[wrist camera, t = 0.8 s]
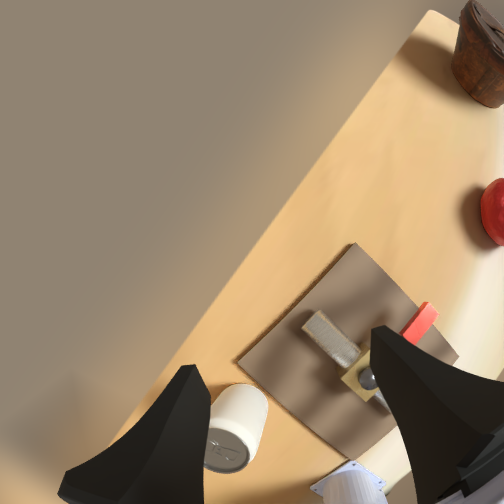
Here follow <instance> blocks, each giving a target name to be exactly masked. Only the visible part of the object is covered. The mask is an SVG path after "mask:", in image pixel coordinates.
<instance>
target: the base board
mask: <svg viewBox="0 0 504 504" xmlns="http://www.w3.org/2000/svg"><path fill="white" fill-rule="evenodd" d="M319 308H320V309H321V310H322V311H323V312H324V313H325V314H326V315H327V316H328V317H329V318H330V319H331V320H332V321H333V322H334V323H335V324H336V325H337V326H338V327H339V328H340V329H341V330H342V331H343V332H344V333H345V334H346V335H347V336H348V337H349V338H350V339H351V340H352V341H353V342H354V343H355V344H356V345H357V346H358V345H359V344H360V343H361V342H363V343H364V344H365V345H367V346H368V347H369V348H370V343H371V329H372V328H375V327H379V326H382V325H386V326H387V327H389V328H390V329H392V330H393V331H394V332H396V333H397V334H399V332H400V331H401V330H402V329H403V327H404V326H405V325H406V324H407V323H408V321H409V320H410V319H411V318H412V317H413V315H414V314H415V313H416V312H417V310H418V309H419V308H418V307H417V306H416V305H415V303H414V302H413V301H412V300H411V299H410V298H409V297H408V296H407V295H406V294H405V292H404V291H403V290H402V289H401V288H400V287H399V286H398V285H397V284H396V283H395V282H394V281H393V280H392V279H391V278H390V277H389V276H388V274H387V273H386V272H385V271H384V270H383V269H382V268H381V267H380V266H379V265H378V264H377V263H376V262H375V261H374V260H373V259H372V258H371V257H370V256H369V255H368V254H367V253H366V252H365V251H364V250H363V249H362V248H361V247H360V246H359V245H358V244H357V243H356V242H355V243H354V244H353V245H352V246H351V247H350V248H349V249H348V251H347V252H346V253H345V254H344V255H343V256H342V257H341V258H340V259H339V261H338V262H337V263H336V264H335V265H334V266H333V267H332V268H331V269H330V270H329V272H328V273H327V274H326V275H325V276H324V277H323V278H322V279H321V280H320V281H319V282H318V283H317V284H316V285H315V286H314V288H313V289H312V290H311V291H310V292H309V293H308V294H307V295H306V296H305V297H304V298H303V299H302V300H301V301H300V302H299V303H298V304H297V305H296V306H295V307H294V308H293V309H292V310H291V311H290V312H289V313H288V314H287V315H286V316H285V317H284V318H283V319H282V320H281V321H280V322H279V323H278V324H277V325H276V326H275V327H274V328H273V329H272V330H271V331H270V332H269V333H268V334H267V335H266V336H265V337H264V338H263V339H261V340H260V341H259V342H258V343H257V344H256V345H255V346H254V347H253V348H252V349H251V350H250V351H249V352H248V353H247V354H245V355H244V356H243V357H242V358H241V359H240V360H239V361H238V362H237V363H238V364H239V365H240V366H241V367H242V368H243V369H244V370H245V371H246V372H247V373H248V374H249V375H250V376H251V377H252V378H253V379H254V380H256V381H257V382H258V383H259V384H260V385H261V386H262V387H263V388H264V389H265V390H266V391H267V392H268V393H270V394H271V395H272V396H273V397H274V398H275V399H276V400H277V401H279V402H280V403H281V404H282V405H283V406H284V407H285V408H286V409H288V410H289V411H290V412H291V413H292V414H293V415H295V416H296V417H297V418H298V419H299V420H301V421H302V422H303V423H304V424H305V425H307V426H308V427H309V428H310V429H311V430H313V431H314V432H315V433H316V434H318V435H319V436H320V437H321V438H323V439H324V440H325V441H327V442H328V443H329V444H330V445H332V446H333V447H334V448H336V449H337V450H338V451H340V452H341V453H342V454H344V455H345V456H346V457H348V458H349V459H351V460H352V461H354V460H355V459H357V458H358V457H360V456H361V455H362V454H363V453H365V452H366V451H367V450H369V449H370V448H371V447H372V446H374V445H375V444H376V443H377V442H378V441H380V440H381V439H382V438H383V437H384V436H385V435H387V434H388V433H389V432H390V431H391V430H392V429H393V428H394V427H396V426H397V423H396V421H395V419H394V417H393V415H392V414H391V413H390V412H389V411H388V410H387V409H386V408H385V407H383V406H382V405H381V404H380V403H379V402H378V401H377V400H376V399H375V398H374V397H373V396H372V397H371V398H370V399H369V400H368V401H367V402H365V401H364V400H363V399H362V398H361V397H360V396H359V395H358V394H357V393H355V392H354V391H353V390H352V389H351V388H350V387H349V386H348V385H347V384H346V383H345V382H343V381H342V380H341V379H340V377H339V375H338V372H337V370H336V367H337V366H338V364H337V363H336V362H335V361H334V360H333V359H332V358H331V357H330V356H329V355H328V354H327V353H326V352H325V351H324V350H323V349H322V348H320V347H319V346H318V345H317V344H316V343H315V342H314V341H313V340H312V339H311V338H310V337H309V336H308V335H307V334H306V333H305V332H304V331H303V330H302V329H301V328H300V327H301V326H302V325H303V323H304V322H305V321H306V320H307V319H308V318H309V317H310V316H311V315H312V314H313V313H314V312H315V311H316V310H318V309H319ZM399 335H400V334H399ZM400 336H401V335H400ZM415 346H417V347H418V348H420V349H421V350H423V351H425V352H426V353H428V354H430V355H432V356H433V357H435V358H437V359H439V360H441V361H443V362H445V363H447V364H449V365H451V366H452V365H453V364H454V363H455V361H456V360H457V359H458V357H459V356H458V354H457V353H456V352H455V351H454V349H453V348H452V347H451V346H450V344H449V343H448V342H447V341H446V339H445V338H444V337H443V336H442V335H441V333H440V332H439V331H438V330H437V329H436V327H435V326H434V325H433V324H432V325H431V326H430V327H429V329H428V330H427V331H426V332H425V334H424V335H423V336H422V337H421V339H420V340H419V341H418V342H417V343H416V345H415Z"/></svg>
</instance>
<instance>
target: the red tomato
mask: <svg viewBox="0 0 504 504" xmlns="http://www.w3.org/2000/svg"><path fill="white" fill-rule="evenodd" d="M481 218H482V224H483V226H484V229H485V230H486V232H487V234H488V235H489V236H490V237H491V238H492V239H493V240H494V242H496V243H497V244H498V245H501V246H504V178H499V179H496V180H495V181H493V182H492V183H491V184H490V185H488V187H487V188H486V189H485V191H484V194H483V195H482V197H481Z"/></svg>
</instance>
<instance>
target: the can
mask: <svg viewBox="0 0 504 504" xmlns="http://www.w3.org/2000/svg"><path fill="white" fill-rule="evenodd" d="M267 413H268V402H267V399H266V397H265V395H264V394H263V393H262V392H261V391H260V390H259V389H257V388H256V387H254V386H251V385H248V384H234V385H231V386H229V387H227V388H226V389H224V390H223V391H222V393H221V394H220V395H219V396H218V398H217V399H216V400H215V401H214V403H213V404H212V405H211V413H210V423H209V430H208V437H207V444H206V450H205V457H204V467H205V468H206V469H208V470H211V471H213V472H217V473H222V474H230V473H235V472H238V471H240V470H242V469H244V468H245V467H246V466H247V464H248V463H249V462H250V461H251V460H252V459H253V458H254V456H255V454H256V452H257V449H258V446H259V442H260V439H261V435H262V432H263V428H264V424H265V421H266V417H267Z"/></svg>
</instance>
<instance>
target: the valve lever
mask: <svg viewBox="0 0 504 504" xmlns="http://www.w3.org/2000/svg"><path fill="white" fill-rule="evenodd" d="M438 315H439V314H438V313H437V311H436V310H435V309H434V308H433V307H432V305H431V304H430V303H429V302H423V304H422V305H421V306H420V308H419V309H418V310H417V312H416V313H415V314H414V315H413V317H412V318H411V319H410V320H409V321H408V323H407V324H406V325H405V326H404V327H403V329H402V330H401V331H400V332H399V334H400V335H401V336H402V337H403V338H405V339H406V340H408V341H409V342H411V343H412V344H414V345H416V343H417V342H418V341H419V340H420V339H421V337H422V336H423V335H424V334H425V332H426V331H427V330H428V329H429V327H430V326H431V325H432V323H433V322H434V321H435V319H436V318H437V317H438ZM358 381H359V383H360V385H361V386H362V388H363V389H365V390H374V389H376V388H377V387H378V386H377V384H376V381H375V378H374V376H373V373H372V370H371V367H370V366H368V367H366V368H364V369H363V370H362V371H361V372H360V373H359V376H358Z"/></svg>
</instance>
